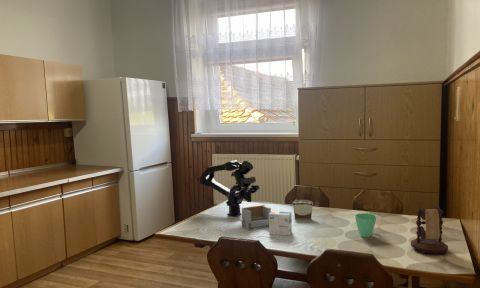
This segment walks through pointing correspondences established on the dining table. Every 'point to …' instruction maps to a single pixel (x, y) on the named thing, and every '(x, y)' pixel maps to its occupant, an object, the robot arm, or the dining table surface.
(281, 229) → the light bulb box
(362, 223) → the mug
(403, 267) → the dining table surface
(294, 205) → the food container
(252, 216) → the cover
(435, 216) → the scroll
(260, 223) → the grey u-channel
